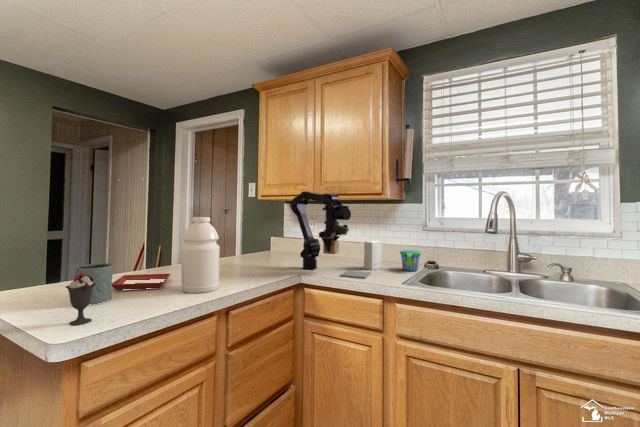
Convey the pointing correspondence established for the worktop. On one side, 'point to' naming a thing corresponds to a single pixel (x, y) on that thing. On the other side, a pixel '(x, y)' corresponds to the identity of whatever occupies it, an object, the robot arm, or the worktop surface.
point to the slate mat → (355, 274)
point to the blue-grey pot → (99, 280)
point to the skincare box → (372, 255)
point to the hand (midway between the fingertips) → (330, 250)
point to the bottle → (200, 257)
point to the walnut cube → (332, 248)
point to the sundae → (80, 296)
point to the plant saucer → (120, 286)
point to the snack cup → (410, 259)
